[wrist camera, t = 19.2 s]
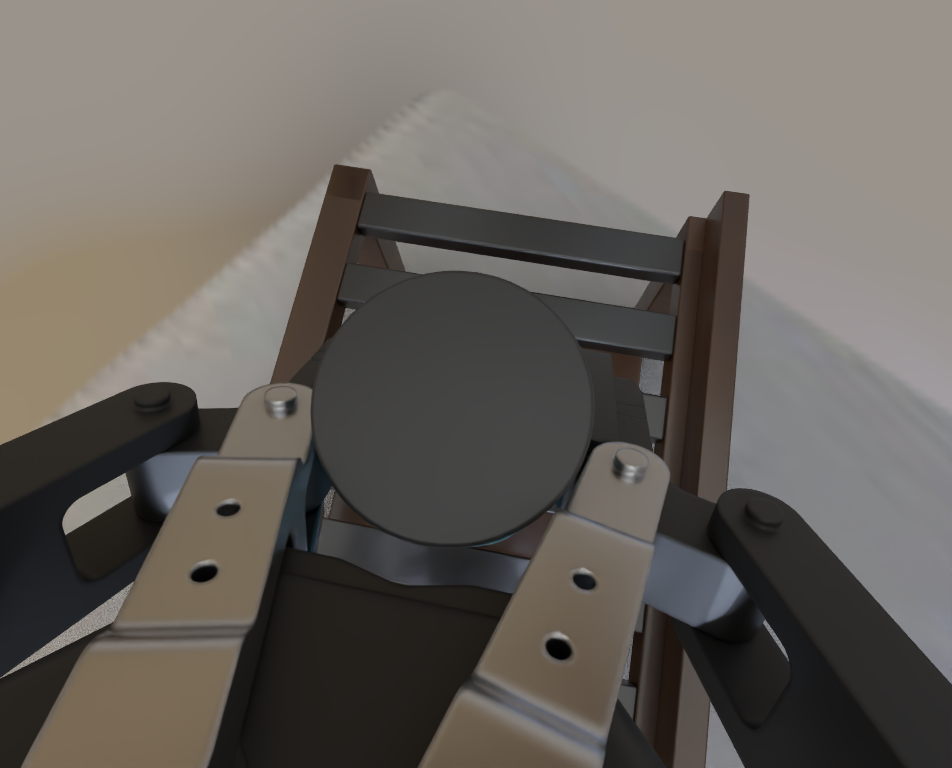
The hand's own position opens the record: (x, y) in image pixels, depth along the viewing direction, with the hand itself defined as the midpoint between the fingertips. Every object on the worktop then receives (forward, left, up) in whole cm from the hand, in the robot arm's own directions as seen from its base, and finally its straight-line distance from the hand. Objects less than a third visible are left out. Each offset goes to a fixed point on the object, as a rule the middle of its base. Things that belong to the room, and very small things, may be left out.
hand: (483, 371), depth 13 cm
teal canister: (0, -2, -4) cm, 4 cm away
